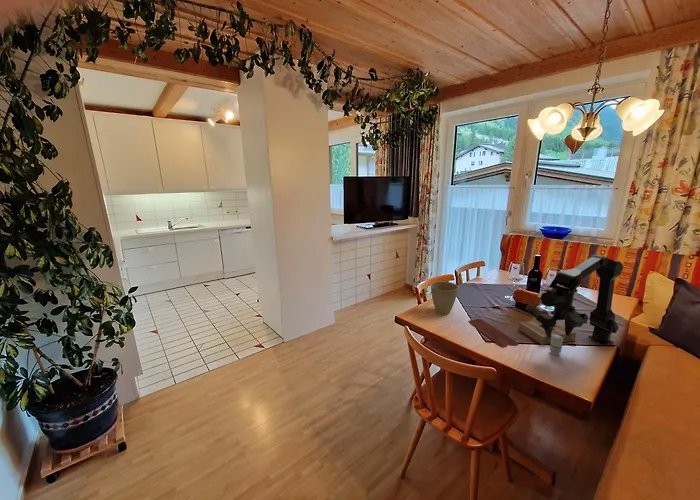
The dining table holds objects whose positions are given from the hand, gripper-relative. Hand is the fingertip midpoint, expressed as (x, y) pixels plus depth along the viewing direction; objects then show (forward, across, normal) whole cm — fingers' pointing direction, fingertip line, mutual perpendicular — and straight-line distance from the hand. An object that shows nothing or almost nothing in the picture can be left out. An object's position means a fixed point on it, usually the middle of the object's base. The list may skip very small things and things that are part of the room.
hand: (557, 336), depth 123 cm
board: (+8, +9, +14) cm, 19 cm away
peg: (+8, 0, 0) cm, 8 cm away
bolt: (+9, +21, +35) cm, 42 cm away
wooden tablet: (+9, -15, +22) cm, 28 cm away
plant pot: (+8, -28, +47) cm, 55 cm away
